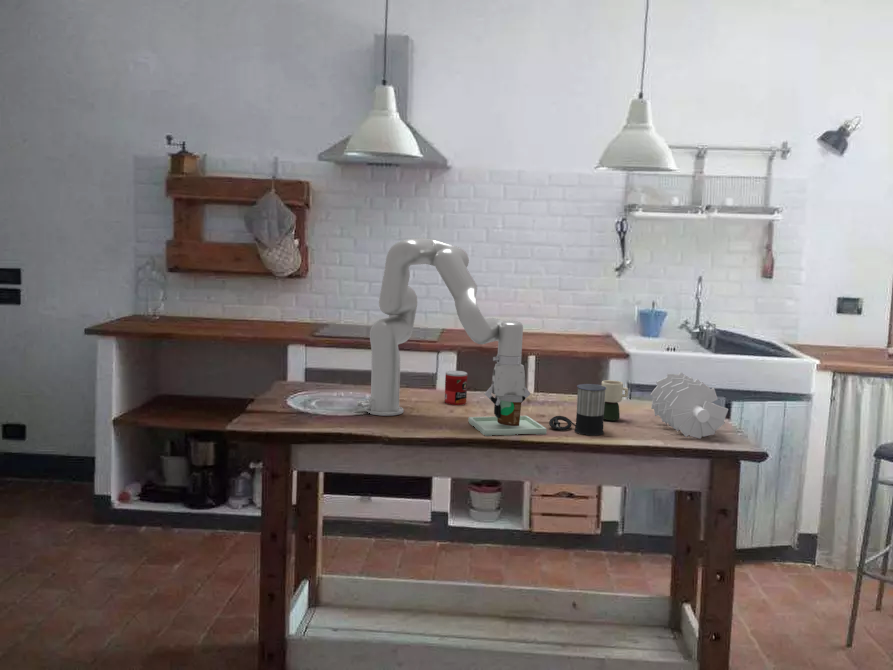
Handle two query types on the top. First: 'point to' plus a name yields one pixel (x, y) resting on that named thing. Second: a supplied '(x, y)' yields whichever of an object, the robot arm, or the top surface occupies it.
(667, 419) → the spiral staircase
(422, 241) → the robot arm
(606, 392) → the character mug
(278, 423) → the top surface
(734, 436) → the top surface
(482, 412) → the top surface
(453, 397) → the canned food
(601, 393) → the milk frother
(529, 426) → the tray
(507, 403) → the food container
